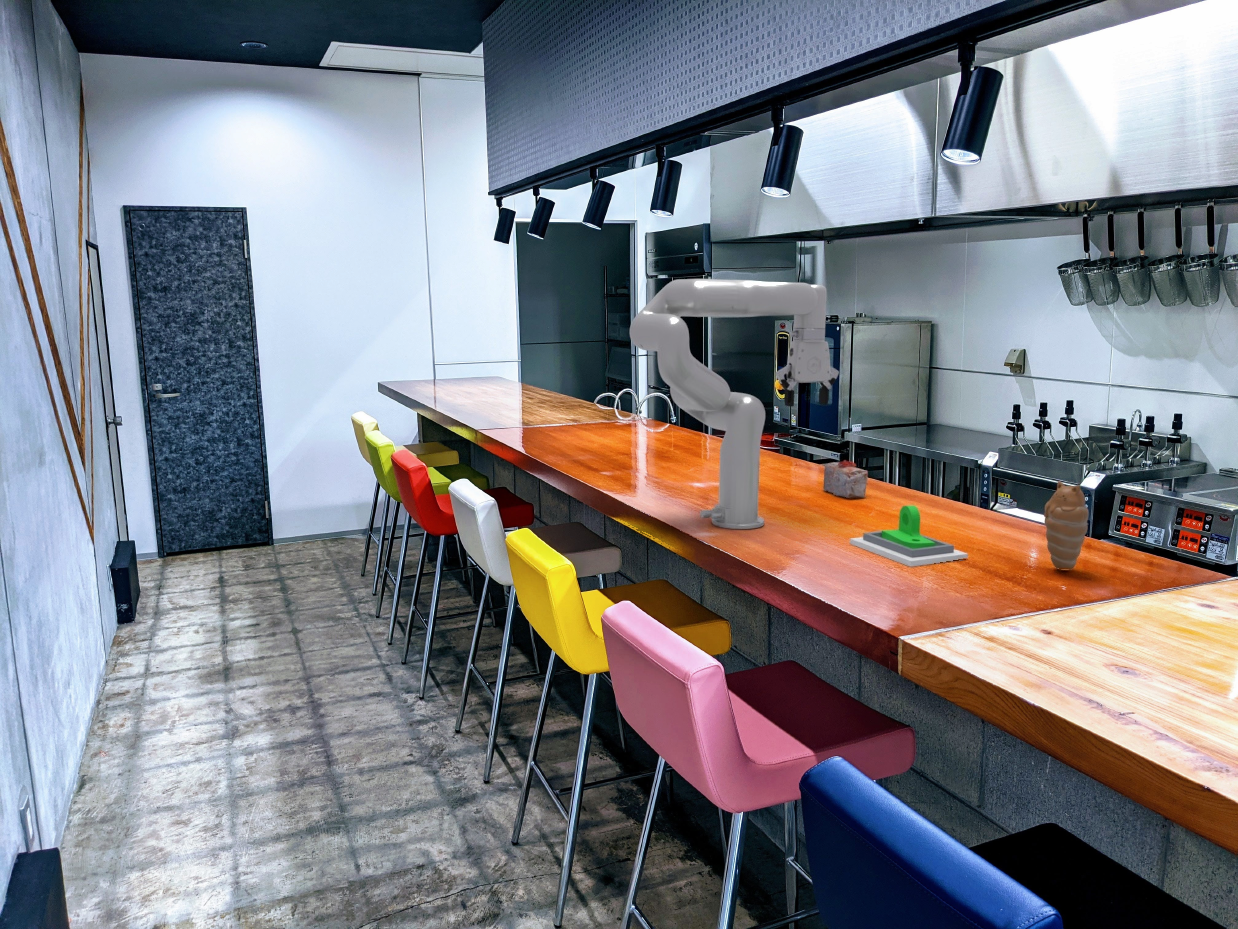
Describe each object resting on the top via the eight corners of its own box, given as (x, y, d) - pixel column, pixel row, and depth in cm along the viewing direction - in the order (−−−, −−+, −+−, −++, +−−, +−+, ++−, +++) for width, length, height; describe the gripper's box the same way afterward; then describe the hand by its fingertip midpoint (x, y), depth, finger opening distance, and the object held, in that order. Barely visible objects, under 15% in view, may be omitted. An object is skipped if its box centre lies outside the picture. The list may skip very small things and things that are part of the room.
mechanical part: (881, 539, 207) (883, 504, 205) (906, 538, 208) (908, 503, 207) (908, 553, 195) (910, 515, 194) (934, 551, 196) (936, 514, 195)
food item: (871, 499, 256) (873, 463, 255) (846, 501, 253) (848, 465, 252) (841, 489, 269) (843, 456, 267) (818, 491, 266) (819, 457, 264)
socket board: (910, 566, 189) (911, 553, 189) (849, 543, 208) (850, 531, 207) (967, 559, 195) (968, 546, 195) (903, 537, 213) (904, 526, 213)
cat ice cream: (1030, 567, 190) (1038, 480, 187) (1060, 563, 192) (1068, 477, 189) (1065, 578, 181) (1073, 488, 178) (1095, 575, 184) (1104, 485, 181)
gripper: (786, 336, 222) (783, 408, 225) (848, 336, 228) (844, 405, 231) (770, 335, 229) (768, 404, 232) (830, 335, 235) (827, 402, 238)
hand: (806, 405), depth 231 cm, fingers open, 9 cm apart
